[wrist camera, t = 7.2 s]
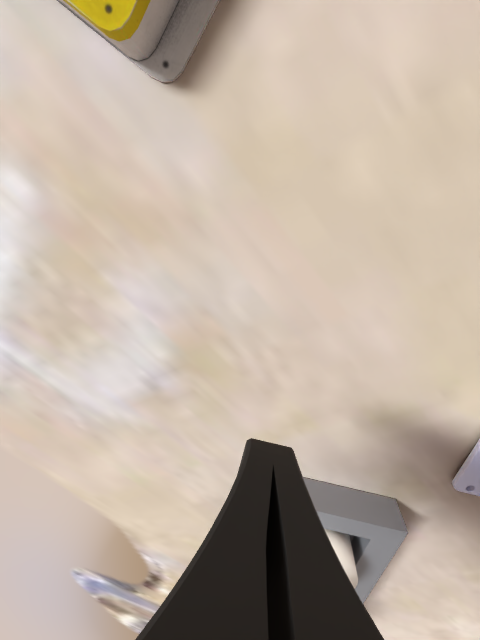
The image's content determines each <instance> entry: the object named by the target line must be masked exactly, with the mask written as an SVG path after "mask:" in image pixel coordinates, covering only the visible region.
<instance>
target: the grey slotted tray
mask: <svg viewBox="0 0 480 640" xmlns="http://www.w3.org/2000/svg"><path fill="white" fill-rule="evenodd" d="M303 479H304V482H305V485H306V487H307V490H308V492H309V495H310V497H311V500H312V502H313V505H314V507H315V509H316V511H317V514H318V516H319V518H320V521H321V523H322V525H323V528H324V529H328V530H332V531H337V532H341V533H345V534H349V536H350V541H351V546H352V551H353V556H354V561H355V566H356V571H357V576H358V584H357V586H356V588H355V591H356V593H357V594H358V596H359V598H360V600H361V601H362V603H364V601H365V600H366V598H367V597H368V595H369V594H370V592H371V590H372V589H373V587H374V586H375V584H376V583H377V581H378V579H379V578H380V576H381V575H382V573H383V572H384V570H385V568H386V567H387V565H388V564H389V562H390V561H391V559H392V557H393V556H394V554H395V553H396V551H397V550H398V548H399V546H400V545H401V543H402V542H403V540H404V539H405V537H406V535H407V534H408V531H407V528H406V525H405V523H404V520H403V517H402V514H401V512H400V509H399V506H398V504H397V501H396V499H393V498H389V497H385V496H381V495H376V494H372V493H368V492H364V491H359V490H355V489H351V488H347V487H342V486H338V485H334V484H330V483H325V482H321V481H317V480H313V479H308V478H304V477H303Z"/></svg>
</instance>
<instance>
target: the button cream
mask: <svg viewBox="0 0 480 640" xmlns="http://www.w3.org/2000/svg"><path fill="white" fill-rule="evenodd" d="M324 530H325V532H326V534H327V536H328V538H329V540H330V542H331V544H332V547H333V549H334V551H335V553H336V555H337V557H338V559H339V561H340V563H341V565H342V567H343V568H344V570H345V572H346V574H347V576H348V578H349V580H350V582H351V584H352V585H353V587H354V589H355V588H356V586H357V584H358V576H357V571H356V566H355V561H354V556H353V551H352V546H351V541H350V536H349V534H345V533H341V532H337V531H332V530H328V529H324Z"/></svg>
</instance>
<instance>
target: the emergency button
mask: <svg viewBox="0 0 480 640" xmlns="http://www.w3.org/2000/svg"><path fill="white" fill-rule="evenodd" d="M57 1H58V2H60V3H61V4H62V5H63V6H64V7H66V8H67V9H68V10H69V11H71V12H72V13H73V14H74V15H75V16H77V17H78V18H79V19H80V20H82V21H83V22H84V23H85V24H87V25H88V26H89V27H90V28H91V29H93V30H94V31H95V32H96V33H98V34H99V35H100V36H101V37H102V38H104V39H105V40H106V41H107V42H109V43H110V44H111V45H112V46H114V47H115V48H116V49H117V50H118V51H120V52H121V53H122V54H123V55H125V56H126V57H127V58H128V59H129V60H131V61H132V62H133V63H134V64H136V65H137V66H138V67H139V68H141V69H142V70H143V71H144V72H145V73H147V74H148V75H149V76H150V77H152V78H154V79H156V80H158V81H160V82H162V83H163V82H171V81H175V80H176V79H177V78H178V77H179V76H180V75H181V74H182V73H183V71H184V69H185V67H186V65H187V63H188V61H189V59H190V57H191V55H192V53H193V51H194V50H195V48H196V46H197V44H198V42H199V40H200V38H201V36H202V34H203V32H204V30H205V29H206V27H207V25H208V23H209V21H210V19H211V17H212V15H213V13H214V11H215V9H216V7H217V6H218V4H219V2H220V0H57Z"/></svg>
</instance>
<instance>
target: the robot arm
mask: <svg viewBox="0 0 480 640" xmlns="http://www.w3.org/2000/svg"><path fill="white" fill-rule="evenodd" d="M452 485H453V487H454V489H455V490H457V491H460V492H464V493H468V494H472V495H477V496H480V439H479V441H478V442H477V444H476V445H475V447H474V448H473V450H472V451H471V453H470V454H469V456H468V457H467V459H466V461H465V462H464V464H463V465H462V467H461V468H460V470H459V471H458V473H457V474H456V476H455V477H454V479H453V480H452ZM136 640H384V638H383V637H382V635H381V634H380V632H379V630H378V629H377V627H376V625H375V624H374V622H373V620H372V618H371V617H370V615H369V613H368V612H367V610H366V608H365V607H364V605H363V603H362V601H361V600H360V598H359V596H358V594H357V593H356V591H355V589H354V587H353V585H352V584H351V582H350V580H349V578H348V576H347V574H346V572H345V570H344V568H343V567H342V565H341V563H340V561H339V559H338V557H337V555H336V553H335V551H334V549H333V547H332V544H331V542H330V540H329V538H328V536H327V534H326V532H325V530H324V528H323V525H322V523H321V521H320V518H319V516H318V514H317V511H316V509H315V507H314V505H313V502H312V500H311V497H310V495H309V492H308V490H307V487H306V485H305V482H304V479H303V477H302V474H301V471H300V468H299V466H298V463H297V460H296V457H295V453H294V451H293V449H292V448H291V447H286V446H282V445H278V444H273V443H269V442H265V441H261V440H256V439H252V438H251V439H249V440H247V442H246V445H245V449H244V453H243V456H242V460H241V464H240V467H239V471H238V474H237V477H236V480H235V482H234V484H233V486H232V489H231V491H230V493H229V495H228V497H227V499H226V501H225V503H224V505H223V507H222V509H221V511H220V513H219V515H218V516H217V518H216V520H215V522H214V524H213V526H212V528H211V529H210V531H209V533H208V534H207V536H206V538H205V540H204V541H203V543H202V545H201V546H200V548H199V549H198V551H197V553H196V554H195V556H194V557H193V559H192V561H191V562H190V564H189V565H188V567H187V568H186V570H185V571H184V573H183V574H182V576H181V577H180V579H179V580H178V582H177V583H176V585H175V586H174V588H173V589H172V591H171V592H170V593H169V595H168V596H167V598H166V599H165V601H164V602H163V603H162V605H161V606H160V608H159V609H158V610H157V612H156V613H155V614H154V616H153V617H152V618H151V620H150V621H149V622H148V624H147V625H146V626H145V628H144V629H143V630H142V632H141V633H140V634H139V636H138V637H137V638H136Z"/></svg>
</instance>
